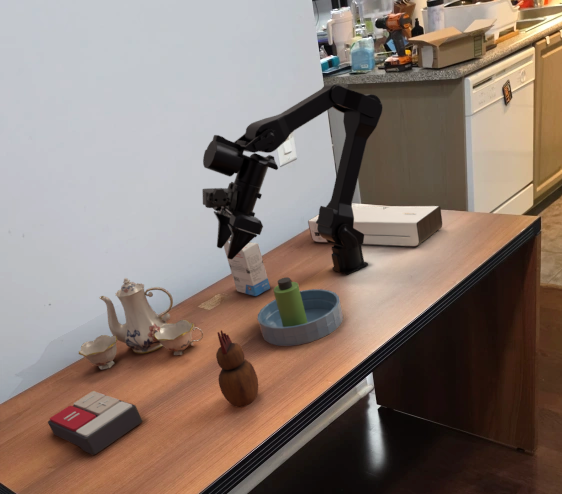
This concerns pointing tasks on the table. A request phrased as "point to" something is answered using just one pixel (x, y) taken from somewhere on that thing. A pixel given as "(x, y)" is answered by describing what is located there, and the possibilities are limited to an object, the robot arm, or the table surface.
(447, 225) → the table surface
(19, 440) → the table surface
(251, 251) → the ink box
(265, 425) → the table surface
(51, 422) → the calculator
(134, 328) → the chinaware
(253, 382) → the wooden figurine
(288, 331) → the basin
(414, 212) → the laminator
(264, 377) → the table surface
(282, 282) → the green bottle
